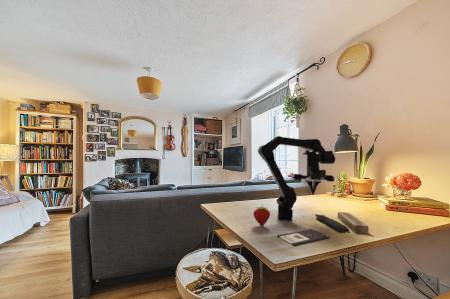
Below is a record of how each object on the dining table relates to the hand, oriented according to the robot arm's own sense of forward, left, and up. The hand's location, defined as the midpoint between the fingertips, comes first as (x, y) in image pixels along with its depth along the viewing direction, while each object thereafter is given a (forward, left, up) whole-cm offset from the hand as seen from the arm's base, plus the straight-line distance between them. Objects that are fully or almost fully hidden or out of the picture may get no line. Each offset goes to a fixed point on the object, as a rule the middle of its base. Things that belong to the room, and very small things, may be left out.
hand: (312, 194), depth 105 cm
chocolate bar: (-9, -27, -13) cm, 31 cm away
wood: (+7, -7, -13) cm, 16 cm away
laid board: (+16, -6, -12) cm, 21 cm away
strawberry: (-25, -18, -12) cm, 33 cm away
